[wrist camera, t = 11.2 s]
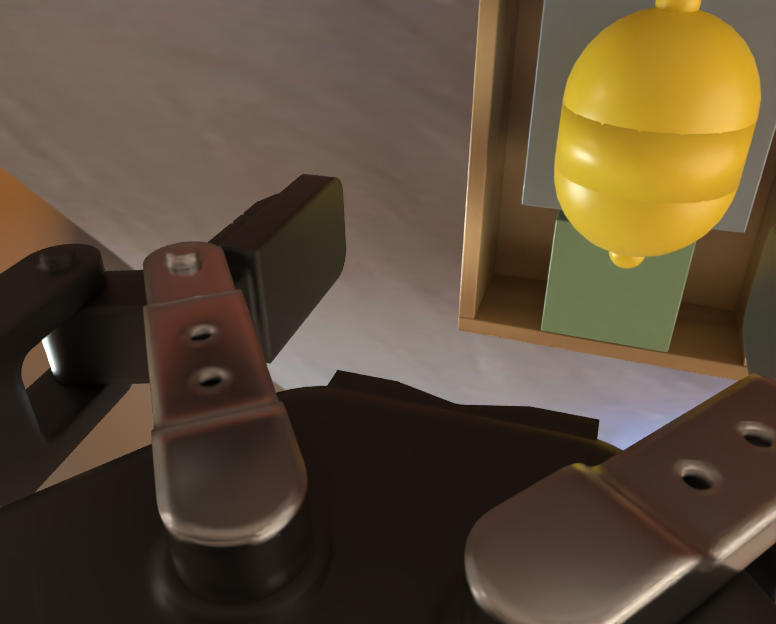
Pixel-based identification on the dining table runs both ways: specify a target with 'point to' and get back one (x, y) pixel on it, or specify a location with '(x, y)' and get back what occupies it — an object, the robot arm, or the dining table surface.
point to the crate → (537, 224)
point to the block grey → (572, 35)
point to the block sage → (612, 292)
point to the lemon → (655, 130)
